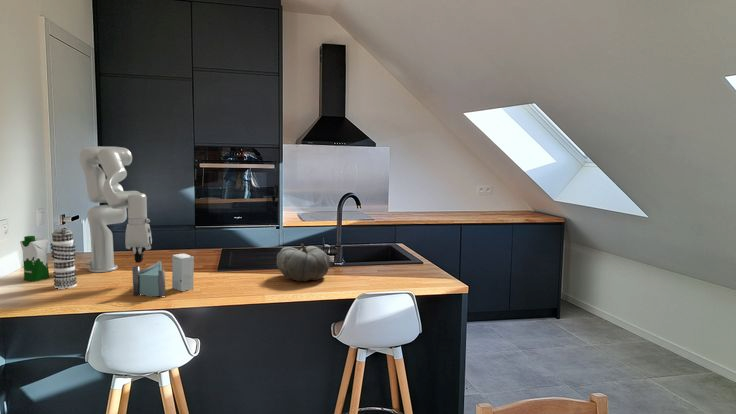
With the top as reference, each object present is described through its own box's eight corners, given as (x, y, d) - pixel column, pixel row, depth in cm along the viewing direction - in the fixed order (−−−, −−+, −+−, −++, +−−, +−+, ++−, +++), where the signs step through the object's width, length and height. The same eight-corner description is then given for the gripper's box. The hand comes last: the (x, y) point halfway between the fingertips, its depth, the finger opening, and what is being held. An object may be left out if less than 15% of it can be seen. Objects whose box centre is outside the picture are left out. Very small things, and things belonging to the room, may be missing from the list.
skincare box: (171, 288, 221) (170, 254, 219) (184, 285, 226) (183, 252, 224) (182, 292, 216) (181, 258, 214) (195, 289, 220) (194, 255, 218)
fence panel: (139, 296, 210) (138, 270, 208) (143, 294, 212) (142, 268, 211) (163, 297, 208) (162, 271, 207) (166, 296, 210) (165, 270, 209)
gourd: (263, 273, 238) (270, 237, 237) (300, 271, 258) (307, 238, 257) (300, 288, 223) (308, 250, 222) (337, 285, 243) (344, 250, 242)
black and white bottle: (51, 285, 222) (48, 229, 219) (76, 282, 228) (72, 227, 225) (54, 290, 215) (50, 232, 212) (79, 287, 221) (76, 230, 217)
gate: (141, 291, 213) (140, 271, 212) (137, 291, 213) (136, 271, 212) (162, 279, 231) (161, 261, 230) (158, 279, 231) (158, 261, 230)
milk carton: (20, 280, 230) (17, 236, 227) (39, 275, 238) (36, 233, 236) (34, 282, 227) (31, 238, 224) (53, 277, 235) (50, 234, 233)
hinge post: (132, 295, 210) (130, 267, 208) (136, 293, 213) (134, 265, 211) (138, 296, 210) (137, 267, 208) (142, 294, 212) (141, 266, 211)
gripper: (158, 220, 227) (159, 260, 230) (124, 219, 227) (126, 259, 230) (151, 223, 220) (152, 264, 222) (116, 222, 220) (117, 263, 223)
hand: (138, 261), depth 226 cm, fingers closed
